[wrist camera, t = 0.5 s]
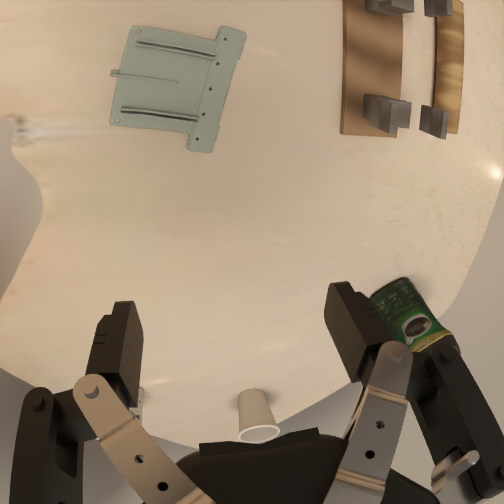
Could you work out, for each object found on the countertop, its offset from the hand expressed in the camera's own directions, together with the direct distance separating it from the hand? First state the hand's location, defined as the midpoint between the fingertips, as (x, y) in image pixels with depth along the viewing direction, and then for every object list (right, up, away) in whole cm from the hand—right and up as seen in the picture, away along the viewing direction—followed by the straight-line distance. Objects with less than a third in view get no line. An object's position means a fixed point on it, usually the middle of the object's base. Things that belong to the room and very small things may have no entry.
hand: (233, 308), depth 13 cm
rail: (+27, +29, +20) cm, 44 cm away
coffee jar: (+26, -6, +42) cm, 49 cm away
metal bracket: (-8, +21, +19) cm, 30 cm away
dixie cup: (+1, -29, +52) cm, 59 cm away
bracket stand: (+15, +27, +19) cm, 36 cm away
